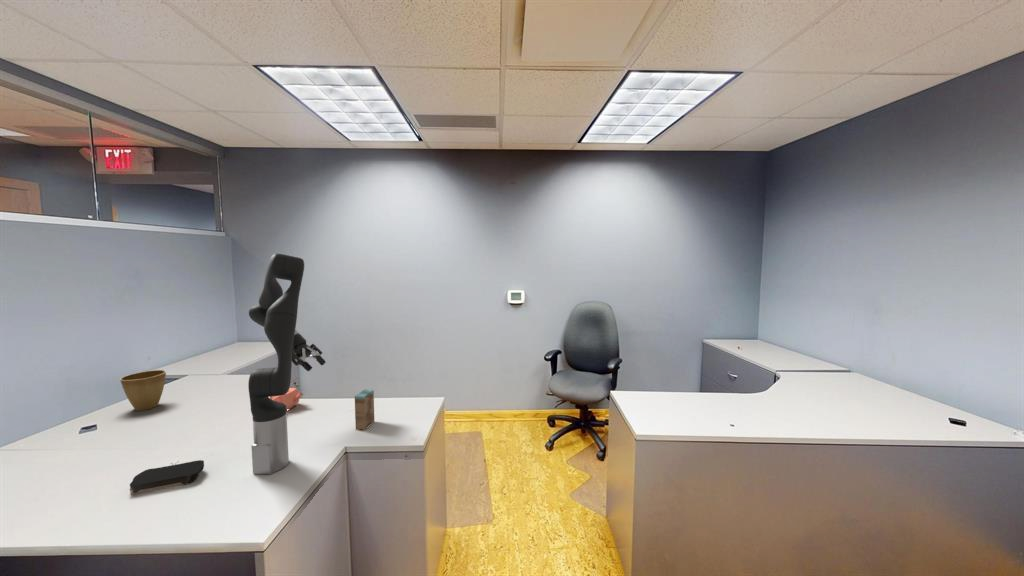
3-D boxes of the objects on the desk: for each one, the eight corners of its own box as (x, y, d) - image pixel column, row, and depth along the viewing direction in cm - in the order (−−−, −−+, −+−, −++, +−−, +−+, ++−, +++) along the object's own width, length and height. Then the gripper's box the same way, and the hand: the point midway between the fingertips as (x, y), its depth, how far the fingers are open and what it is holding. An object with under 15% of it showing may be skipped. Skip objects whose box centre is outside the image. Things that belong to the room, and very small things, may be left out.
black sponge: (207, 469, 114) (207, 458, 114) (195, 484, 107) (194, 472, 106) (142, 481, 108) (141, 469, 108) (124, 497, 101) (123, 485, 100)
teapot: (303, 408, 163) (303, 388, 163) (273, 415, 155) (272, 394, 155) (298, 401, 172) (297, 382, 171) (269, 407, 164) (268, 387, 163)
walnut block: (365, 430, 141) (364, 396, 140) (355, 429, 141) (354, 396, 140) (374, 421, 149) (373, 389, 148) (365, 421, 149) (364, 389, 148)
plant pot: (137, 403, 169) (135, 371, 168) (175, 400, 174) (173, 368, 173) (113, 416, 155) (110, 381, 154) (155, 411, 160) (152, 377, 159)
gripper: (283, 336, 138) (311, 365, 138) (308, 330, 152) (333, 356, 152) (272, 349, 139) (299, 378, 139) (297, 341, 153) (322, 367, 153)
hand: (317, 366), depth 145 cm, fingers open, 8 cm apart
